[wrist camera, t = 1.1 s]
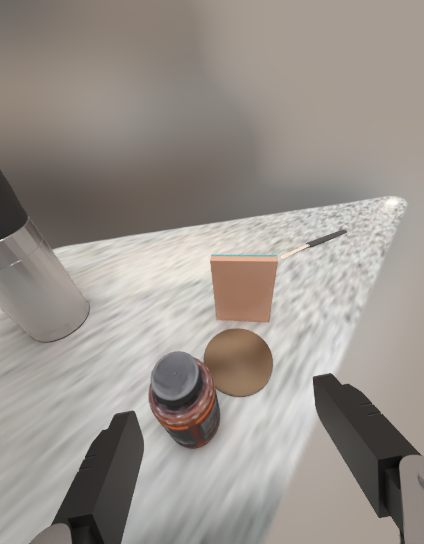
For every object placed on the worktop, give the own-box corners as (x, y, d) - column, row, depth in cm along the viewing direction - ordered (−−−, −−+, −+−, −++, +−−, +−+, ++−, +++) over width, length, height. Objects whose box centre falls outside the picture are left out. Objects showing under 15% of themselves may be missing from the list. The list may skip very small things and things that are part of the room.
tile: (268, 322, 34) (277, 261, 26) (216, 319, 36) (210, 260, 28) (268, 315, 35) (276, 255, 27) (217, 313, 36) (211, 254, 28)
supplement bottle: (221, 390, 28) (214, 341, 20) (219, 451, 23) (209, 418, 16) (174, 388, 28) (150, 339, 21) (162, 447, 24) (127, 412, 16)
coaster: (193, 349, 32) (192, 347, 31) (246, 322, 35) (246, 319, 34) (226, 412, 26) (226, 409, 25) (287, 372, 29) (288, 369, 28)
